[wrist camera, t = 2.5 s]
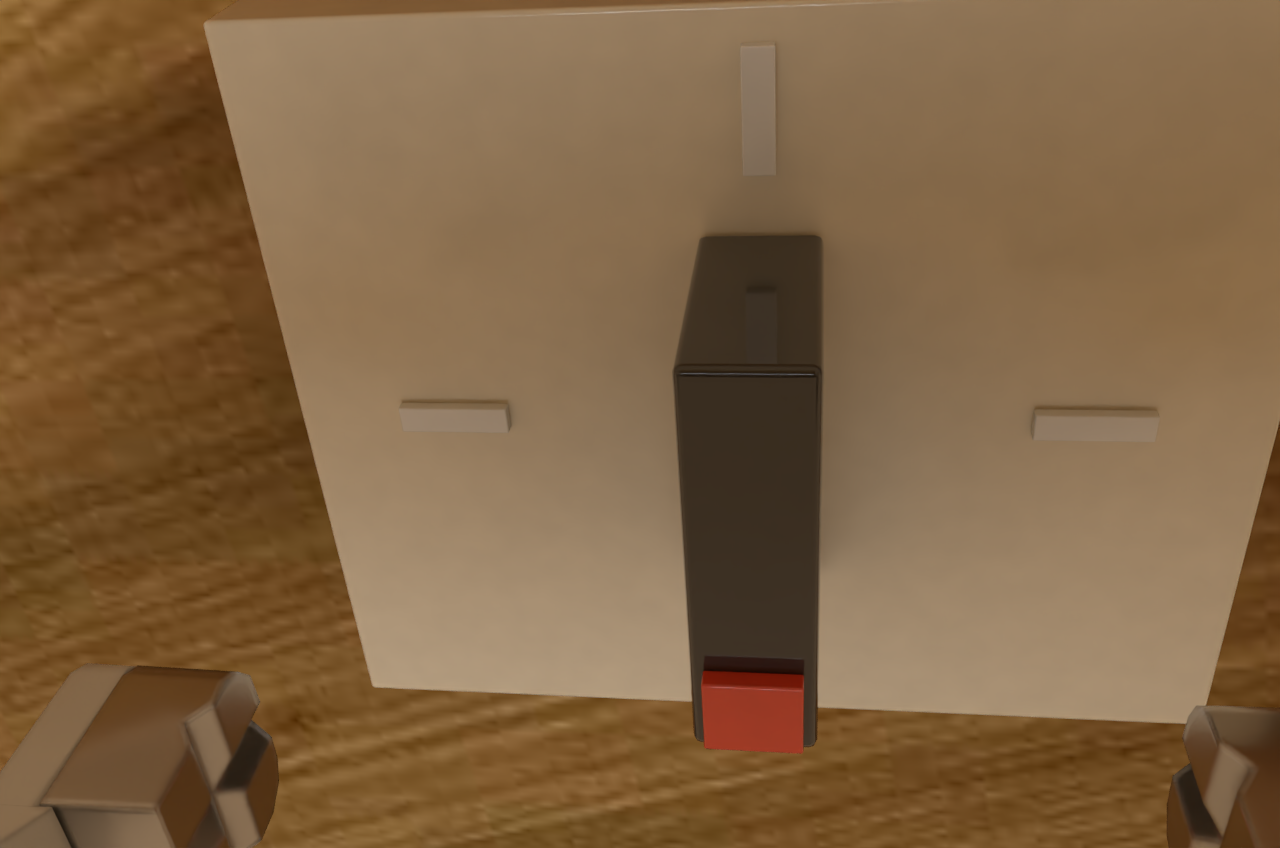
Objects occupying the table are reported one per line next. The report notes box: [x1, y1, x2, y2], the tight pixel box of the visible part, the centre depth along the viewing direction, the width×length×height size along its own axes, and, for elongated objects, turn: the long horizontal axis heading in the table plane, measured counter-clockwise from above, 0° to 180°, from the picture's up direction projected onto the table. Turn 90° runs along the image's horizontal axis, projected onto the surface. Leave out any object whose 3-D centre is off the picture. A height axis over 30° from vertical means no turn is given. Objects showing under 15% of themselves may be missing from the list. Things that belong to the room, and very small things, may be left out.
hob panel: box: [204, 0, 1280, 724], centre depth 16 cm, size 12×10×3 cm
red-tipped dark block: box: [672, 235, 824, 754], centre depth 14 cm, size 5×1×3 cm, turn 4°
